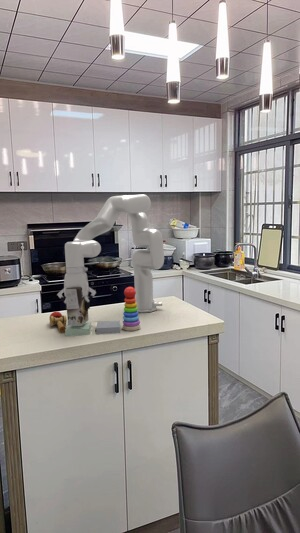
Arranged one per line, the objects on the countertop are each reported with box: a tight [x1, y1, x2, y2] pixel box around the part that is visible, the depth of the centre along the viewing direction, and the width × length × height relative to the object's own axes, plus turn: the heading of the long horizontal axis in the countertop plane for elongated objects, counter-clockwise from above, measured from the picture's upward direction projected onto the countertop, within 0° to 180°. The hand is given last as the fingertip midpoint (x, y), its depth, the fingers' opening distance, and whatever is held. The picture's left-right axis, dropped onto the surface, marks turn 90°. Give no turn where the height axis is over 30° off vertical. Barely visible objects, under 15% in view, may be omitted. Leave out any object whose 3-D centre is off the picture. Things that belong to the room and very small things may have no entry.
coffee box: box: [65, 287, 89, 326], centre depth 162 cm, size 9×6×16 cm
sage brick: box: [64, 321, 92, 337], centre depth 163 cm, size 10×10×3 cm
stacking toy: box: [122, 286, 141, 332], centre depth 164 cm, size 8×8×19 cm
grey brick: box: [95, 320, 121, 335], centre depth 164 cm, size 10×10×3 cm
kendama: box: [49, 311, 68, 333], centre depth 170 cm, size 8×6×18 cm
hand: (77, 310), depth 162 cm, fingers closed on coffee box, 7 cm apart
